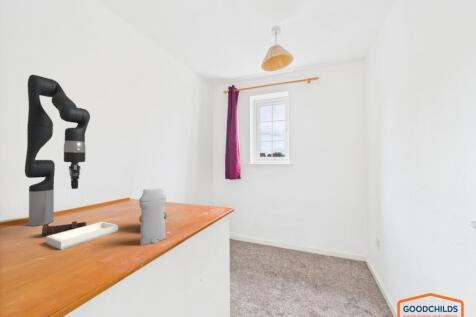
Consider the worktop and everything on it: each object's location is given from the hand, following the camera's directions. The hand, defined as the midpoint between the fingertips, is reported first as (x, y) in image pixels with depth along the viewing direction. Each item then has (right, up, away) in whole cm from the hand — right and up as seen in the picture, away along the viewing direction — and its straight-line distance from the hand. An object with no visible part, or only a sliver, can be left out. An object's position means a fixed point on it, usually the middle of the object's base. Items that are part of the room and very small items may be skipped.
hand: (74, 187), depth 89 cm
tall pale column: (+40, -21, -9) cm, 46 cm away
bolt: (-5, -21, +1) cm, 22 cm away
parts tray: (+8, -21, -4) cm, 23 cm away
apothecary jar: (+33, -21, +5) cm, 40 cm away
